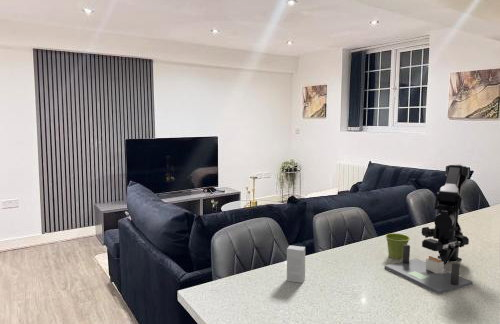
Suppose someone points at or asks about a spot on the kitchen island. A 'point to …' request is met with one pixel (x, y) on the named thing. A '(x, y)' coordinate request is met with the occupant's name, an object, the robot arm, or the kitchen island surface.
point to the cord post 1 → (406, 254)
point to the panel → (427, 276)
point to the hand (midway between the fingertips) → (444, 264)
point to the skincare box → (296, 264)
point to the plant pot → (396, 244)
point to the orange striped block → (434, 265)
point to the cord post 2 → (455, 273)
